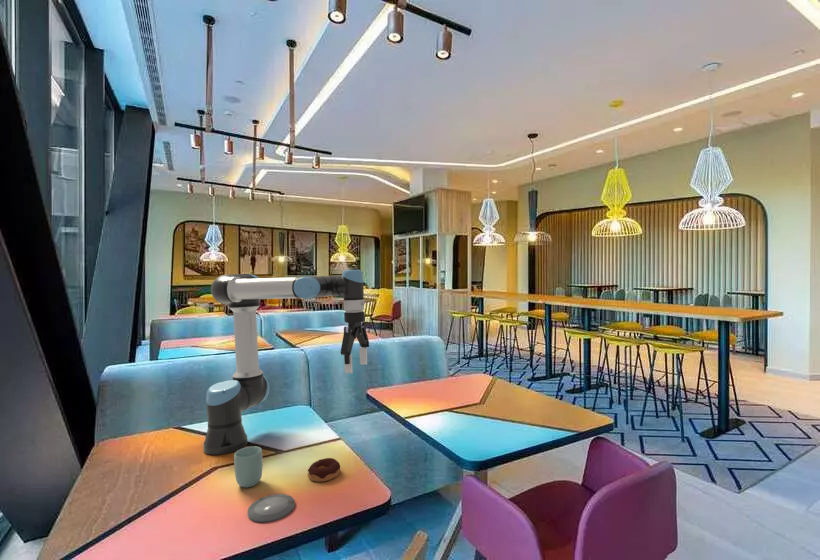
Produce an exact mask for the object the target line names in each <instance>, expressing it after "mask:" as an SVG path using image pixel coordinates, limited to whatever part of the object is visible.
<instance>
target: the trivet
mask: <svg viewBox="0 0 820 560" xmlns="http://www.w3.org/2000/svg"><path fill="white" fill-rule="evenodd" d="M295 504H296V503H295V499H294V498H293V496H292V495H289V494H285V493H276V494H275V493H274V494H269V495H267V496H263V497H261V498H259V499H257V500H255V501H253V503H251V504H250V505H249V507H248V509H247V517H248V519H249V520H250V521H252V522H255V523H270V522H275V521H279V520H280V519H283V518H284V517H287V516H288V515H289V514H290V513H291V512H292V511H293V510H294V508H295Z"/></svg>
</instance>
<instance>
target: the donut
mask: <svg viewBox="0 0 820 560" xmlns="http://www.w3.org/2000/svg"><path fill="white" fill-rule="evenodd" d="M307 472H308V473H307V477H308V479H310V480H311V481H313V482H315V483H322V482H327V481H330V480H333V479H335V478H336V477H338V476H339V475H340V473H341V464H340V462H338V460H337V459H335V458H332V457H327V458H321V459H318V460H317V461H314V462H312V463H311V465H310V466H309V467H308V469H307Z"/></svg>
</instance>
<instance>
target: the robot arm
mask: <svg viewBox="0 0 820 560" xmlns="http://www.w3.org/2000/svg"><path fill="white" fill-rule="evenodd" d="M364 282H365V281H364V274H363V271H362V270H361V269H344V270H342V273H341V275H320V276H319V275H317V276H311V275H309V276H306V275H305V276H295V277H294V276H293V277H291V276H290V277H266V278H265V277H258V276H257V275H255V274H249V273H242V274H241V273H239V274H238V273H237V274H235V273H234V274H232V273H231V274H222V275H220V276H218V277H216V278H215V279H214V281H213V282H212V284H211V285H210V286H211V287H210V293H211V296H212V297H213V299H214V300H215V301H216V302H218V303H220V304H223V305H228V309H229V310H230V311H232V314H233V330H234V333H233V334H234V349H235V350H234V352H235V372H234V373H233V374H232V379H230V380H224V381H220V382H216V383H214V384H213V385H211V386H209V387H208V389H207V391H206V399H205V403H206V414H207V415H206V417H207V430H206V434H205V439H204V442H203V444H202V445H203V453H205V454H206V455H211V456H213V455H214V456H215V455H224V454H229V453H230V454H231V453H233V452H234V453H235V452H237V451H238V450H240V449H242V448H245V447H247V445H248V441H249V440H248V435H247V433H246V432H245V428H244V425H243V422H242V421H243V420H242V419H243V417H242V412H244V411H246V410H248V409H250V408H252V407H255V406H258V405H259V404H262V402H263V401H265V400H266V399H267V398H268V396H269V393H270V383H269V379H267V377H266V376H265V375H264V371H263V370H261V369H260V364H259V361H260V360H259V346H258V344H259V343H258V331H257V330H258V326H257V310H258V308H260V301H261V300H273V299H275V300H277V299H280V300H281V299H282V300H283V299H285V300H286V299H303V300H308V299H309V300H310V299H315V298H322V297H333V296H334V297H338V296H342V297H343V298H342V299H343V311H344V313H343V316H344V317H343V319H344V320H343V321H344V323H347V325H346V326H344V327H343V335H342V336H343V337H342V342H341V347H340V354H341V356H343V362H344V365H343V366H344V374H353V371H354V370H353V354H351V353H352V350H353V346H354V342H355V339H356V340H357V341H358V343H359V345H360V346H359V365H366V366H367V365H368V348H369V347H370V342H369V341H370V340H369V337H368V333H367V328H366V322H365V321H366V317H365V314H366V313H365V311H364V310H365V305H366V302H365V297H364V294H365V293H364Z"/></svg>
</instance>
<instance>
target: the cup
mask: <svg viewBox="0 0 820 560" xmlns="http://www.w3.org/2000/svg"><path fill="white" fill-rule="evenodd" d="M233 463H234V464H233V465H234V476H235V481H236V483H237V484H238V486H239V487H241V488H245V489H246V488H252V487H254V486H256V485H258V483H259V482H260V481H261V479H262V477H263V475H262V474H263V467H264V466H263V465H264V464H263V449H262V448H261V447H260V446H256V445H255V446H253V445H252V446H244V447H243V448H241V449H239V450H237V451H234V454H233Z"/></svg>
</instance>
